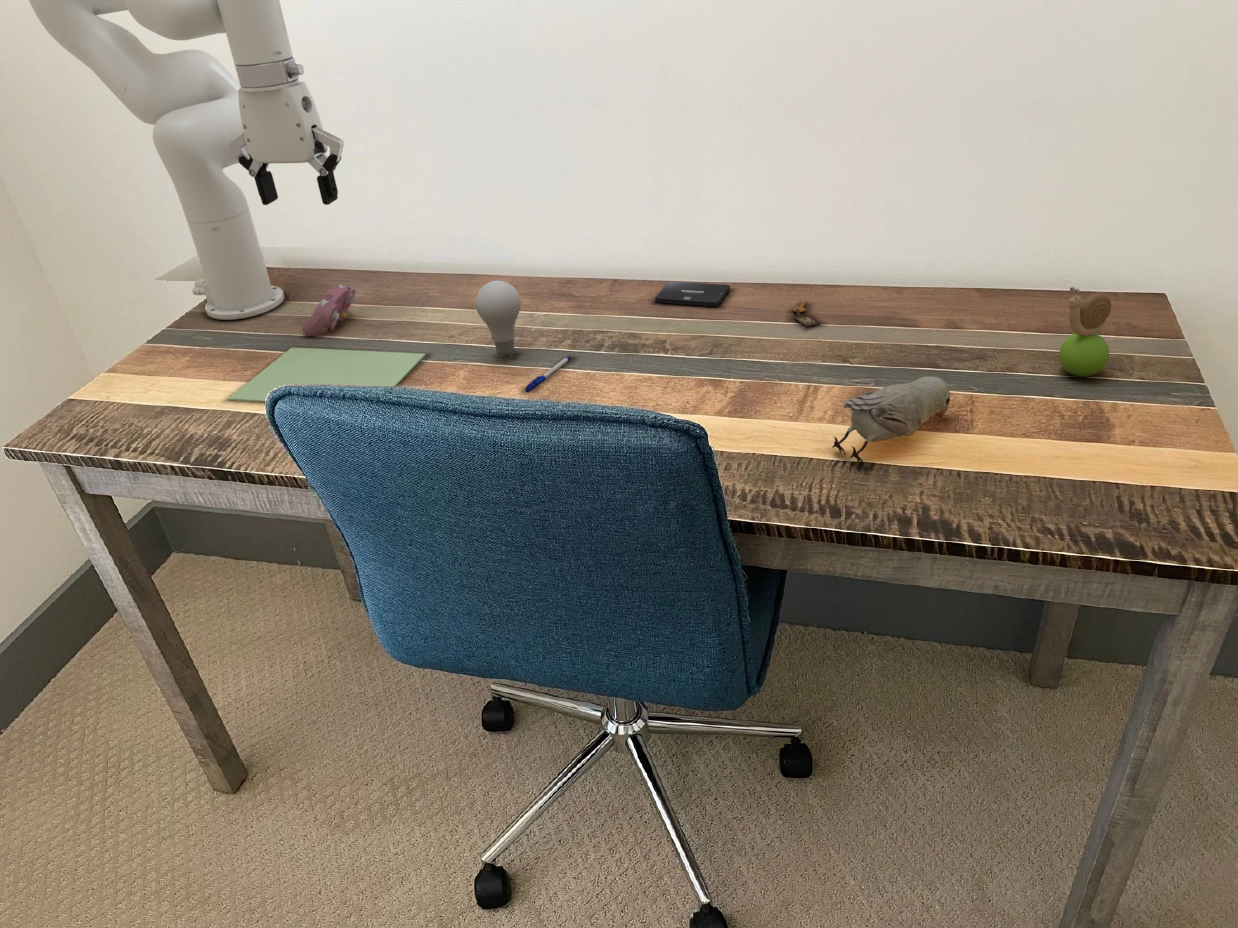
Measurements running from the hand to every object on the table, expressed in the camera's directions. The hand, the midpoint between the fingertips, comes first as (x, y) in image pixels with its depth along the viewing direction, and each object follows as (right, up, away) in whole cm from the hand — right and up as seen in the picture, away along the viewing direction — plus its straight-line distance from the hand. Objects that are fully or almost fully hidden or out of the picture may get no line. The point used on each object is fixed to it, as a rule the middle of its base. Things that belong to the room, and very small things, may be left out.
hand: (300, 202), depth 137 cm
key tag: (+72, -16, +1) cm, 74 cm away
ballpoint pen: (+36, -26, -8) cm, 45 cm away
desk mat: (+5, -25, -3) cm, 26 cm away
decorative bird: (+76, -35, -29) cm, 89 cm away
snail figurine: (+101, -27, -20) cm, 107 cm away
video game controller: (+1, -16, +13) cm, 21 cm away
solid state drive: (+57, -12, +11) cm, 59 cm away
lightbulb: (+30, -22, -2) cm, 37 cm away
